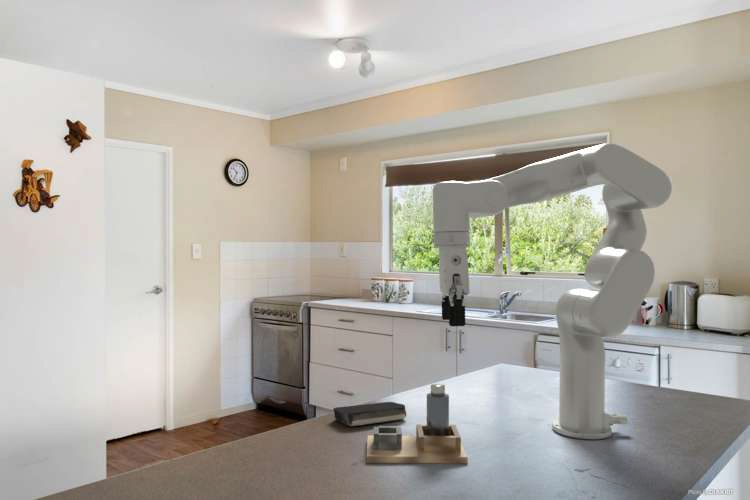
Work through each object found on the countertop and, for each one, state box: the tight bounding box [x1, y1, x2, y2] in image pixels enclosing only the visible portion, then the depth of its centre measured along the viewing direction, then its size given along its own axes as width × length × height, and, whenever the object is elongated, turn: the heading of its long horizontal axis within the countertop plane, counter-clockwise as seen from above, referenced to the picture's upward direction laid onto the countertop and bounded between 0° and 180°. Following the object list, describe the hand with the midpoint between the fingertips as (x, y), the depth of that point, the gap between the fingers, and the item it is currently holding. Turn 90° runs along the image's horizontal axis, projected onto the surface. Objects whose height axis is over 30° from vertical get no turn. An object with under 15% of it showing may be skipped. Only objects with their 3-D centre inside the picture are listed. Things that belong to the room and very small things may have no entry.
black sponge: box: [332, 401, 407, 427], centre depth 135 cm, size 16×8×4 cm, turn 116°
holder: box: [366, 424, 469, 465], centre depth 114 cm, size 19×12×4 cm, turn 90°
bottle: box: [426, 383, 450, 436], centre depth 114 cm, size 4×4×12 cm
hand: (453, 322), depth 120 cm, fingers open, 9 cm apart
